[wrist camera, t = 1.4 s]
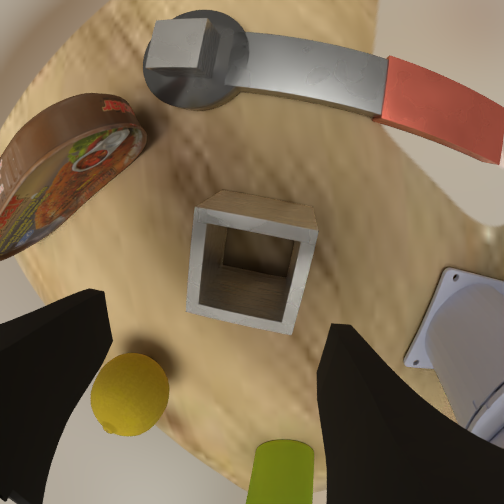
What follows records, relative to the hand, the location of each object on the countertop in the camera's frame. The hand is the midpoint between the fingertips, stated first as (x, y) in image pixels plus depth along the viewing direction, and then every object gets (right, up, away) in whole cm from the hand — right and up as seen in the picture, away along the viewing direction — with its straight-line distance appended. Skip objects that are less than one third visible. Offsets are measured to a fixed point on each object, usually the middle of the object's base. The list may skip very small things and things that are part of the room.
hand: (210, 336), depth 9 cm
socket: (+2, +3, +9) cm, 10 cm away
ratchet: (+6, +12, +5) cm, 14 cm away
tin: (-11, +8, +10) cm, 16 cm away
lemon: (-7, -6, +14) cm, 17 cm away
